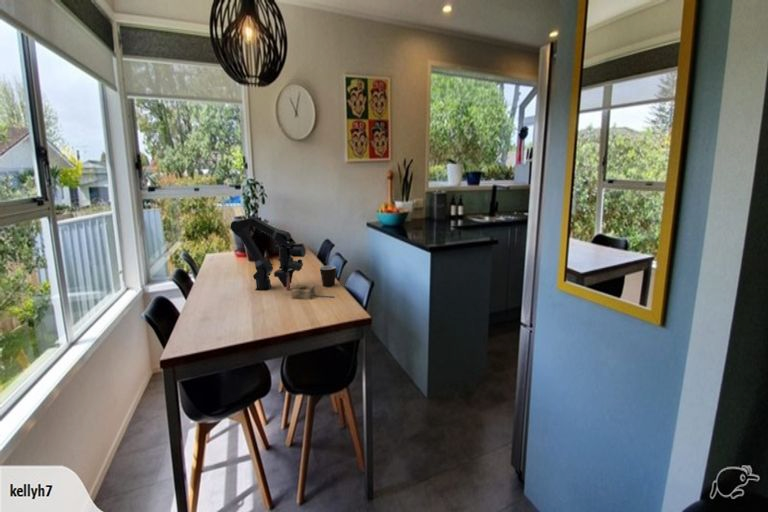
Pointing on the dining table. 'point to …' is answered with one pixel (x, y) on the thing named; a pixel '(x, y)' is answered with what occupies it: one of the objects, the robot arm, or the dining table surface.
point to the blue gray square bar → (324, 296)
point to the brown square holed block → (303, 292)
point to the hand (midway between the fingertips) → (287, 285)
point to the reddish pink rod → (288, 283)
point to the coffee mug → (328, 275)
